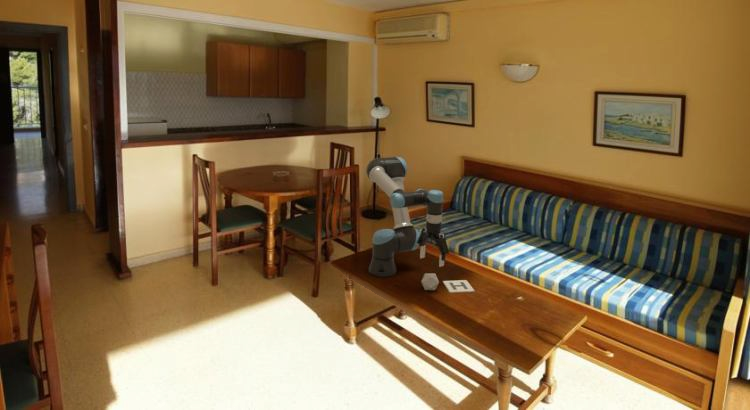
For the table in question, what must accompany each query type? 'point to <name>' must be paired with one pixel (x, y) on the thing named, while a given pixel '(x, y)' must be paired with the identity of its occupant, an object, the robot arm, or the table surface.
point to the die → (430, 281)
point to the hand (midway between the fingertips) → (431, 261)
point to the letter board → (458, 286)
